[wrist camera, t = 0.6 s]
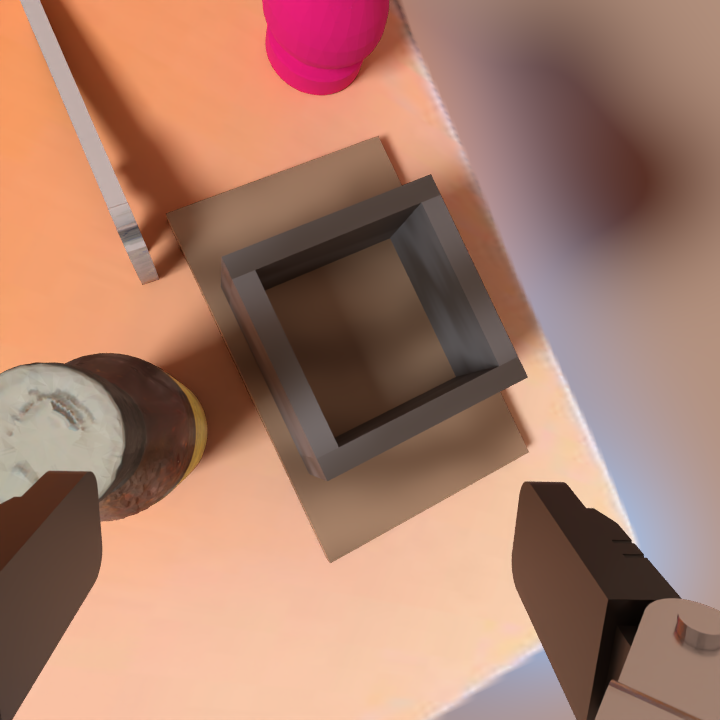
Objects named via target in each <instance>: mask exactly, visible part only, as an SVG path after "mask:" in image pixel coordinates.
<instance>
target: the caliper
mask: <svg viewBox="0 0 720 720" xmlns="http://www.w3.org/2000/svg"><path fill="white" fill-rule="evenodd" d="M20 1H21V4H22V6H23V8H24V11H25V13H26V15H27V18H28V20H29V22H30V25H31V27H32V29H33V32H34V34H35V37H36V39H37V41H38V44H39V46H40V48H41V51H42V53H43V55H44V58H45V60H46V62H47V65H48V67H49V69H50V72H51V74H52V77H53V79H54V81H55V84H56V86H57V88H58V91H59V93H60V95H61V98H62V100H63V102H64V105H65V107H66V110H67V112H68V114H69V117H70V119H71V121H72V124H73V126H74V128H75V131H76V133H77V135H78V138H79V140H80V143H81V145H82V148H83V150H84V152H85V155H86V157H87V159H88V162H89V164H90V167H91V169H92V171H93V174H94V176H95V178H96V181H97V183H98V185H99V188H100V190H101V192H102V195H103V197H104V200H105V202H106V204H107V207H108V210H109V212H110V215H111V217H112V219H113V221H114V224H115V226H116V229H117V231H118V233H119V236H120V238H121V240H122V242H123V244H124V247H125V249H126V251H127V254H128V256H129V258H130V260H131V262H132V264H133V266H134V269H135V271H136V273H137V275H138V277H139V279H140V281H141V283H142V285H143V284H146V283H149V282H152V281H155V280H157V279H159V277H158V274H157V272H156V269H155V266H154V264H153V261H152V259H151V257H150V254H149V252H148V249H147V247H146V244H145V242H144V240H143V237H142V235H141V233H140V230H139V228H138V225H137V223H136V221H135V219H134V216H133V214H132V211H131V209H130V207H129V204H128V202H127V200H126V198H125V196H124V193H123V191H122V189H121V186H120V184H119V182H118V180H117V177H116V175H115V173H114V170H113V168H112V166H111V163H110V161H109V159H108V156H107V154H106V152H105V150H104V147H103V145H102V143H101V140H100V138H99V136H98V134H97V131H96V129H95V127H94V124H93V122H92V120H91V118H90V115H89V113H88V111H87V108H86V106H85V104H84V101H83V99H82V97H81V94H80V92H79V90H78V87H77V85H76V83H75V81H74V78H73V76H72V74H71V71H70V69H69V67H68V64H67V62H66V60H65V57H64V55H63V53H62V51H61V48H60V46H59V44H58V41H57V39H56V37H55V34H54V32H53V30H52V27H51V25H50V23H49V20H48V18H47V16H46V14H45V11H44V9H43V7H42V4H41V2H40V0H20Z"/></svg>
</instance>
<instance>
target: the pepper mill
mask: <svg viewBox="0 0 720 720" xmlns="http://www.w3.org/2000/svg"><path fill="white" fill-rule="evenodd" d="M262 2H263V11H264V16H265V19H266V22H267V32H266V52H267V56H268V59H269V61H270V63H271V65H272V67H273V69H274V70H275V71H276V73H277V74H278V75H279V76H280V78H281V79H283V80H284V81H285V82H286V83H287V84H288V85H290V86H292V87H293V88H295V89H297V90H299V91H301V92H304V93H308V94H314V95H327V94H332V93H336V92H338V91H341V90H343V89H344V88H346V87H347V86H348V85H349V84H351V83H352V82H353V80H354V79H355V78H356V76H357V75H358V72H359V70H360V68H361V65H362V62H363V60H364V58H366V57H367V56H368V55H369V54H370V53H371V52H372V51H373V50H374V48H375V47H376V45H377V44H378V42H379V41H380V39H381V37H382V34H383V32H384V28H385V24H386V21H387V16H388V11H389V0H262Z"/></svg>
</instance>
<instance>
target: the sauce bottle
mask: <svg viewBox="0 0 720 720" xmlns="http://www.w3.org/2000/svg"><path fill="white" fill-rule="evenodd" d="M206 442H207V421H206V417H205V413H204V410H203V408H202V406H201V404H200V402H199V400H198V399H197V398H196V396H195V395H194V394H193V393H192V392H191V391H190V390H189V389H188V388H187V387H186V386H184V385H183V384H182V383H180V382H179V381H178V380H176V379H175V378H173V377H172V376H170V375H169V374H168V373H166V372H164V371H163V370H162V369H160V368H158V367H156V366H154V365H153V364H151V363H149V362H146V361H144V360H142V359H139V358H136V357H132V356H129V355H123V354H115V353H99V354H93V355H87V356H83V357H80V358H77V359H74V360H72V361H70V362H67V363H65V364H64V363H31V364H25V365H20V366H17V367H14V368H11V369H9V370H6V371H4V372H2V373H1V374H0V504H1V503H3V502H5V501H7V500H9V499H11V498H13V497H21V496H22V495H23V494H24V493H25V492H26V491H27V490H28V489H29V488H30V487H32V486H33V485H34V484H35V483H36V482H37V481H38V480H39V479H40V478H41V477H42V476H43V475H44V474H45V473H46V472H47V471H91V472H93V473H94V475H95V477H96V480H97V485H98V498H99V511H100V521H113V520H119V519H123V518H125V517H128V516H130V515H135V514H137V513H139V512H140V511H143V510H146V509H147V508H149V507H150V506H152V505H153V504H155V503H157V502H159V501H160V500H161V499H163V498H164V497H166V496H167V495H168V494H169V493H170V492H171V491H172V490H173V489H174V488H176V487H177V486H178V485H179V484H180V483H181V482H182V481H183V480H184V479H185V478H186V477H187V476H188V475H189V474H190V473H191V472H192V471H193V470H194V468H195V467H196V466H197V464H198V463H199V462H200V460H201V458H202V455H203V452H204V449H205V446H206Z"/></svg>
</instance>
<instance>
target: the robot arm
mask: <svg viewBox="0 0 720 720" xmlns="http://www.w3.org/2000/svg"><path fill="white" fill-rule="evenodd" d="M631 541H632V540H631V539H630V538H629V537H628V535H627V534H626V533H625V532H624V531H623V530H622V528H621V527H620V526H619V525H618V524H617V523H616V522H614V521H613V520H611V519H610V518H608V517H607V516H605V515H603V514H602V513H600V512H599V511H597V510H596V509H594V508H586V507H585V506H584V505H583V504H582V502H581V501H580V500H579V499H578V497H577V496H576V495H575V494H574V492H573V491H572V490H571V489H570V487H569V486H568V485H567V484H566V483H564V482H524V483H523V485H522V487H521V490H520V495H519V503H518V511H517V519H516V527H515V535H514V542H513V550H512V572H513V579H514V583H515V587H516V589H517V591H518V594H519V596H520V598H521V600H522V602H523V604H524V607H525V609H526V611H527V613H528V615H529V617H530V620H531V622H532V624H533V626H534V628H535V630H536V633H537V635H538V637H539V639H540V641H541V643H542V646H543V648H544V650H545V652H546V654H547V656H548V659H549V661H550V663H551V665H552V667H553V669H554V672H555V674H556V676H557V678H558V680H559V682H560V685H561V687H562V689H563V691H564V693H565V695H566V698H567V700H568V702H569V704H570V706H571V709H572V710H573V713H574V715H575V717H576V719H577V720H720V611H719V610H716V609H714V608H712V607H709V606H707V605H704V604H701V603H698V602H694V601H690V600H685V599H681V598H680V596H679V595H678V594H677V593H676V592H675V590H674V589H673V588H672V587H671V586H670V585H669V583H668V582H667V581H666V580H665V579H664V578H663V576H662V575H661V574H660V573H659V572H658V570H657V569H656V568H655V567H654V566H653V565H652V563H651V562H650V561H649V560H648V559H647V558H644V554H643V553H642V552H641V551H640V549H639V548H638V547H637V546H636V545H635V544H634V543H632V542H631ZM101 560H102V537H101V524H100V511H99V498H98V485H97V480H96V477H95V475H94V473H93V472H91V471H47V472H46V473H45V474H44V475H43V476H42V477H41V478H40V479H39V480H38V481H37V482H36V483H35V484H34V485H33V486H32V487H30V488H29V489H28V490H27V491H26V492H25V493H24V494H23V495H22V496H21V497H13V498H11V499H9V500H7V501H5V502H3V503H1V504H0V720H12V719H13V717H14V716H15V714H16V712H17V711H18V709H19V707H20V706H21V704H22V702H23V701H24V699H25V697H26V696H27V694H28V693H29V691H30V689H31V688H32V686H33V684H34V683H35V681H36V679H37V678H38V676H39V674H40V673H41V671H42V669H43V668H44V666H45V664H46V663H47V661H48V659H49V658H50V656H51V654H52V653H53V651H54V649H55V648H56V646H57V645H58V643H59V641H60V640H61V638H62V636H63V635H64V633H65V631H66V630H67V628H68V626H69V625H70V623H71V621H72V620H73V618H74V616H75V615H76V613H77V611H78V610H79V608H80V606H81V605H82V603H83V601H84V600H85V598H86V597H87V595H88V593H89V592H90V590H91V588H92V587H93V585H94V583H95V581H96V579H97V577H98V574H99V570H100V566H101Z"/></svg>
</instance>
